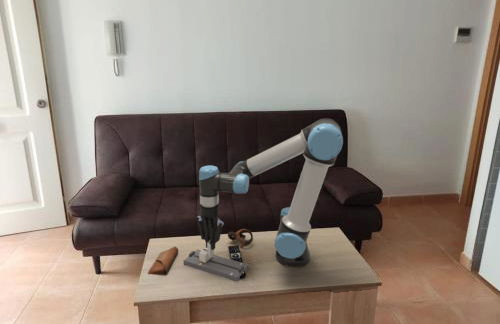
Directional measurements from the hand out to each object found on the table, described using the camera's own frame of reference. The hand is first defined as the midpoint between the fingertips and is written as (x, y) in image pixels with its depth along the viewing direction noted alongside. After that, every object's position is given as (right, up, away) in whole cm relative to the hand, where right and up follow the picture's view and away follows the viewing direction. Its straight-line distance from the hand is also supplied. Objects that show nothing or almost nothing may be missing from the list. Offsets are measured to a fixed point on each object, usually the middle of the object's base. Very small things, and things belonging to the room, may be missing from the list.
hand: (210, 255), depth 155 cm
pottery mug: (+12, 0, +19) cm, 23 cm away
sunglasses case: (-20, -5, +3) cm, 21 cm away
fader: (-2, -2, +2) cm, 3 cm away
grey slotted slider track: (+2, -5, 0) cm, 5 cm away
